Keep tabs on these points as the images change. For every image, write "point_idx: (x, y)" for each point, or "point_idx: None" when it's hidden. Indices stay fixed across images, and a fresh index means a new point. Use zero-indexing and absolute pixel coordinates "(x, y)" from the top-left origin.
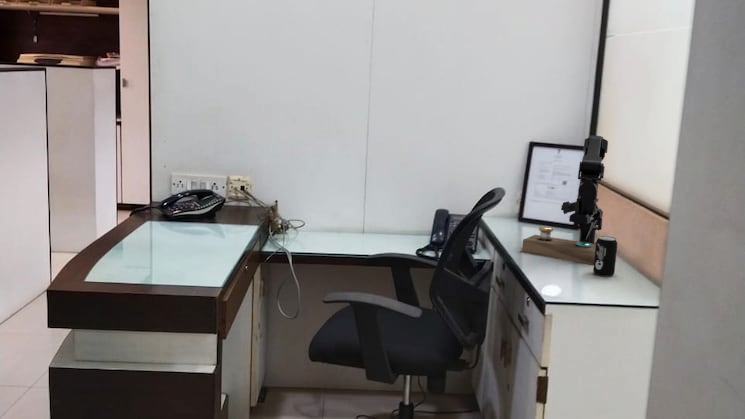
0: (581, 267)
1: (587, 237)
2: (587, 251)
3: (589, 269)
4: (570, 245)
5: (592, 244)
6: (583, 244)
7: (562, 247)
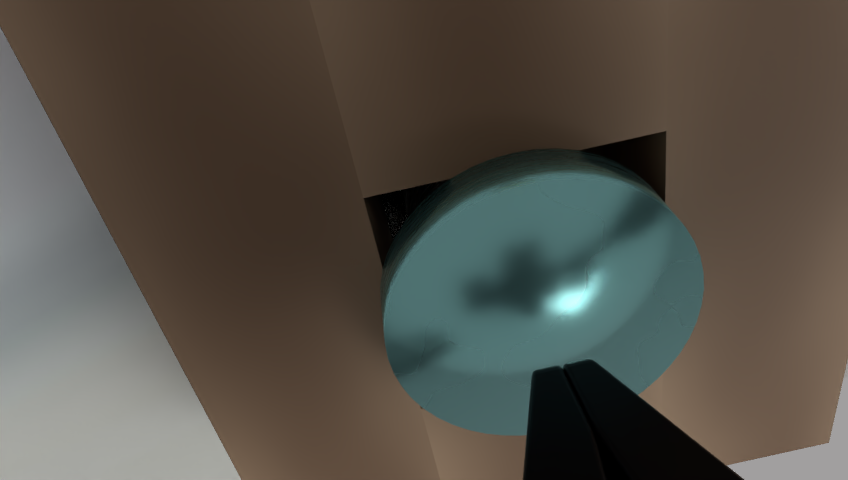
0: (18, 399)
1: None
2: (247, 469)
3: (45, 477)
4: (325, 105)
5: (794, 302)
6: (419, 377)
7: (21, 37)
